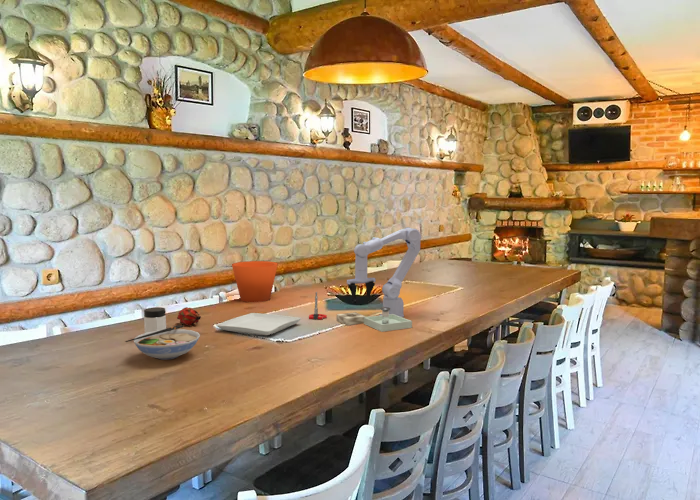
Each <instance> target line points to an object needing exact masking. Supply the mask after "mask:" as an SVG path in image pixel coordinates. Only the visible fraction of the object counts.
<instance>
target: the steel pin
mask: <svg viewBox="0 0 700 500" xmlns="http://www.w3.org/2000/svg"><path fill="white" fill-rule="evenodd" d="M380 310H381V314H382V324H389V310H390V308H389V307H383V306H381V308H380Z"/></svg>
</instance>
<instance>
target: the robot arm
mask: <svg viewBox="0 0 700 500" xmlns="http://www.w3.org/2000/svg"><path fill="white" fill-rule="evenodd" d="M397 240H403V241H405V243H406V246H407V250H406V252H405V254H404V256H403V257H402V259H401V261H400V262H399V264H398V266H397V267H396V269H395V271H394V273H393V274H392V276H391V277H390V278H389V279H388V280H387V282H385V284H383V285H382V286H381V287H382V288H381V292H382V294H383V296H382V297H383V298H382V299H383V300H382V307H389V308H390V310H389V314H394V315H397V316H400V317H403V318H405V315H404V311H405V310H404V309H405V308H404V306H405V304H404V300H403V298H402V297H399V296H400V293H401V289H402V288H403V287H402V286H403V285H402V284H403V283H402V282H403V281H404V279H405V277H406V275H407V274H408V272H409V270H410V269H411V267H412V265H413V263H414V261H415V260H416V258H417V256H418V255H419V253H420V252H421V240H422V235H421V233H420V231H419V230H418V228H412V227H405V228H402V229H401V228H400V229H399V230H397V231H394V232H392V233H390V234H388V235H386V236H384V237H382V238H380V237H372V238H371V239H370V240H368V241H363V242H362V243H361V244H360V243H358V244H356V246H355V247H354V249H353V252H354V254H355V261H354V262H355V265H354V266H355V267H354V268H355V270H354V272H355V273H354V277H355V278H352V279H351V278H350V279H346V284H347V286H348V289H349V291H350V294H351V298H352V299H353V300H356V298H357V288H358V285H356V284H365V290H366V291H365V292H366V293H365V296H366V298H368V299H371V295H372V291H373V288H374V286H375V284H376V278H375V277H368V255H370V254H372V253H374V252H377V251H380V250H382V248H383V247H384V245H386V244H389V243H391V242H395V241H397ZM380 315H382V313H380V314H379V316H380Z"/></svg>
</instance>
